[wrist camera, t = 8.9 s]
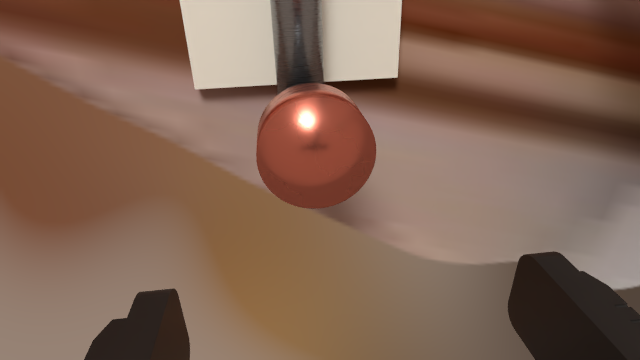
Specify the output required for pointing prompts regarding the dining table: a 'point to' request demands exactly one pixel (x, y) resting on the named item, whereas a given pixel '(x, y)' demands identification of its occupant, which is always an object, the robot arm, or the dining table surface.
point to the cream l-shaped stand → (258, 48)
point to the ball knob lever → (310, 119)
